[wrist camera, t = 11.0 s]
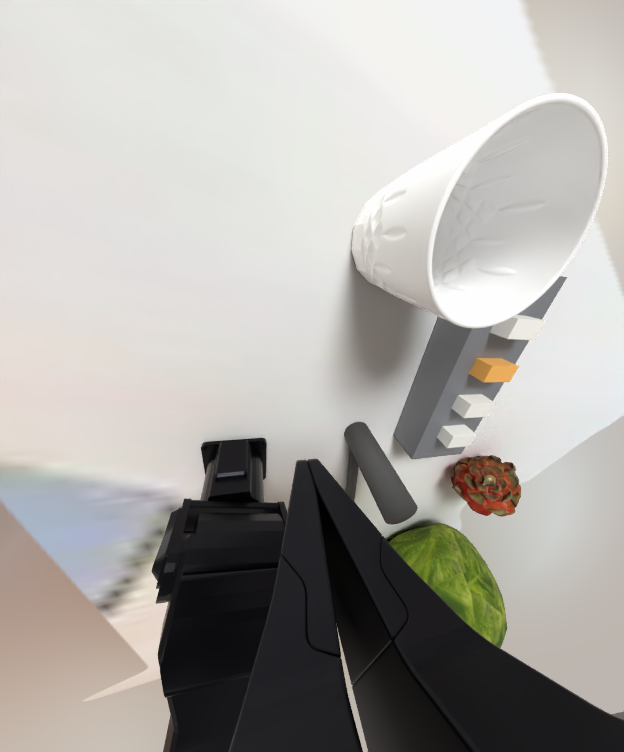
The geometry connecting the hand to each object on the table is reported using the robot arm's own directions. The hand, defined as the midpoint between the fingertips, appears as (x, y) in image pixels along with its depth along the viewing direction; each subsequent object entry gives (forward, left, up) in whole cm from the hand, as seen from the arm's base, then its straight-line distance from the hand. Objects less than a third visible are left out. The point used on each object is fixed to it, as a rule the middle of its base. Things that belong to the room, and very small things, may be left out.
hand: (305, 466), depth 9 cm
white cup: (+9, -8, -13) cm, 18 cm away
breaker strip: (-2, -19, -13) cm, 23 cm away
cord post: (-11, -10, -13) cm, 20 cm away
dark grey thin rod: (-19, -11, -13) cm, 26 cm away
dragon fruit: (-20, -32, -13) cm, 40 cm away
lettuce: (-42, -26, -13) cm, 52 cm away
